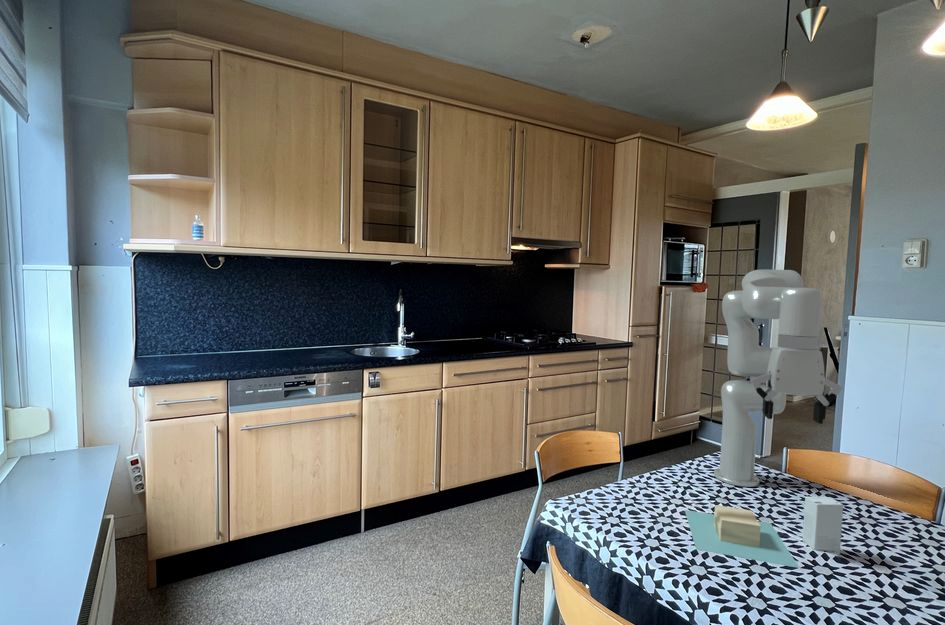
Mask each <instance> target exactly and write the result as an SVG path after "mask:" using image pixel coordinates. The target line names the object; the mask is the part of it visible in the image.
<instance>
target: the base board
mask: <svg viewBox="0 0 945 625" xmlns="http://www.w3.org/2000/svg"><path fill="white" fill-rule="evenodd" d="M684 513H685V516H686V520H687V524H688V526H689V529H690V533H691V536H692V539H693V540H692V541H693V543H694V547H695V549H696V550H697V551H702V552H708V553H713V554H719V555H726V556H731V557H736V558H742V559H748V560H753V561H759V562H764V563H770V564H775V565H781V566H786V567H792V568H798V569H799V568H800V566H799V565H798V564H797V561H796V560H795V559H794V557H793V556H792V554H791V553H790V551H789V549H788V548H787V546H786V545H785V543H784V541H783V540H782V538H781V537H780V535H779V534H778V532H777V531H776V529H775V528H774V526H773V525H772V523H770V522H764V521H759V520H757V521H758V522H759V524H760V526H761V530H760V545H759V547H754V546H748V545H742V544H736V543H730V542H724V541H720V539H719V536H718V534H717V531H716V529H715V526H714V514H715V513H714V514H713V513H707V512H701V511H695V510H687V509H684Z"/></svg>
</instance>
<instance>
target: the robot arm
mask: <svg viewBox="0 0 945 625" xmlns="http://www.w3.org/2000/svg"><path fill="white" fill-rule="evenodd" d="M741 288H742V289H741V290H732V291H729V292H727V293H726V294H724V295H723V298H722V303H721V308H722V315H723V318H724V321H725V324H726V329H727V357H726V358H727V360H726V362H727V369H728V372H730V374H732V375H735V376H739V377H749V378H750V377H751V379H750V380H745V379H744V380H741V379H734V380H733V379H732V380H727V381H725V382H724V383H723V384H722V386H721V389H720V397H721V398H720V399H721V406H722V407H721V408H722V421H721V422H722V424H721V425H722V426H721V439H720V440H721V443H720V458H719V459H720V460H719V467H718V468H716V469H714V470H713V476H714V477H715V478H716V479H718V480H719V481H721V482H723V483H727V484H729V485H733V486H739V487H746V488H749V487H750V488H751V487H752V488H753V487H757V486H759V485H760V479H759V477H758V476H756V475H755V467H756V466H755V463H756V450H757V449H756V448H757V446H756V445H757V436H758V435H757V434H758V433H757V432H758V428H757V427H758V426H757V424H756V422H755V421H754V420H753V418H752V417H751V416H750V415H749V413H759V414H760V413H761V414H763V415H764V417H765V418H767V419H768V420H772V419H773V417H774V416H773V415H778V414H781V413H783V412H784V410H785V408H786V404H787V395H790V396H803V397H813V398H814V400H815V401H816V402H814V404H813V412H812V414H813V416H812V419H813V421H815V422H816V423H817V424H820V425H823V424H824V420H825V419H826V410H827V407H828V406H829V405H830V403H832V402H833V401H835V399H836V398H837V396H838V395H839V394H840V392H841V391H842V389H843V387H842V386H841V385H839V384H837V383H835V382H834V381H832V380H830V379H828V378H826V377H825V364H824V357H823V353H822V351H820V349H821V348H820V347H822V346H823V347H826V346H827V339H822V338H821V336H820V333H821V332H820V331H821V330H820V329H821V318H822V317H821V315H822V301H823V294H822V292H821V290H820V289H817V288H813V287H812V288H810V287H804V281H803V277H802V276H801V274H800V273H798V272H797V271H795V270H794V269H793V270H792V269H755V270H751V271H749V272H747V273H746V274H745V275H744V276H743V278H742V280H741ZM751 319H757V320H759V319H760V320H761V319H763V320H764V319H765V320H778V330H777V333H778V334H777V345H776V346H777V347H768V346H767V347H765V346H760V343H759V340H760V332H759V328H758V327H757V326H756V325H755V323H754V322H753V321H752V320H751ZM825 386H827V387H829V391H828V392H827V393H826V394H824V392H825Z"/></svg>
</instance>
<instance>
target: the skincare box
mask: <svg viewBox="0 0 945 625" xmlns="http://www.w3.org/2000/svg"><path fill="white" fill-rule="evenodd" d="M803 513H804V514H803V527H802V540H801V541H802V542H803V543H804V544H806V545H807V546H809V547H810V548H811V549H813V550H814V551H820V552H821V551H822V552H824V551H825V552H833V553H835V555H836V556H840V555H841V544H842V528H843V527H842V526H843V514H844V504H843V503H841V502H839V501H838V500H836V499H835V498H833V497H831V496H823V497H822V496H805V498H804V511H803Z"/></svg>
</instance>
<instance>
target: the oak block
mask: <svg viewBox="0 0 945 625" xmlns="http://www.w3.org/2000/svg"><path fill="white" fill-rule="evenodd" d="M758 521H759V520H758V519H757V517H756V516H755V514H754V512H753V510H749V509H745V508H737V507H731V506H730V507H729V506H725V505H718V504H717V505H716V504H714V526H715V529H716V531H717V534H718V536H719V539H720V541H724V542H730V543H736V544H742V545H748V546H754V547H759V545H760V530H761V526H760V524H759V522H760V521H759V522H758Z"/></svg>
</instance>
